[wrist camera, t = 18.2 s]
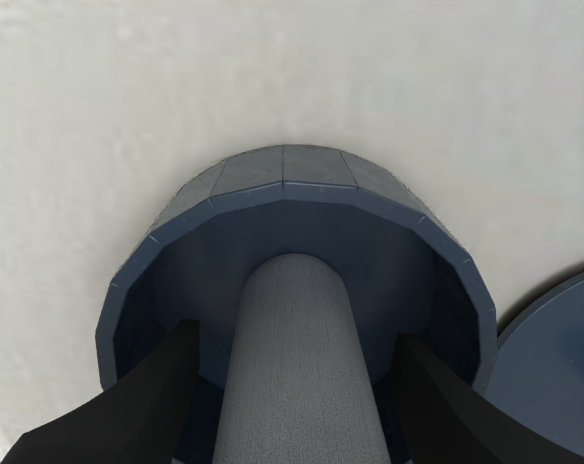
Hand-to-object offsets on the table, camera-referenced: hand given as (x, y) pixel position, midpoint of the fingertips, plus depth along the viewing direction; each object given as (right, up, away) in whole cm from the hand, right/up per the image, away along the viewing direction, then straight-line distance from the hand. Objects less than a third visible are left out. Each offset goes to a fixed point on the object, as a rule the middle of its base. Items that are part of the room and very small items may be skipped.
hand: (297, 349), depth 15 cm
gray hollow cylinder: (0, +1, +3) cm, 4 cm away
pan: (0, +2, +3) cm, 4 cm away
